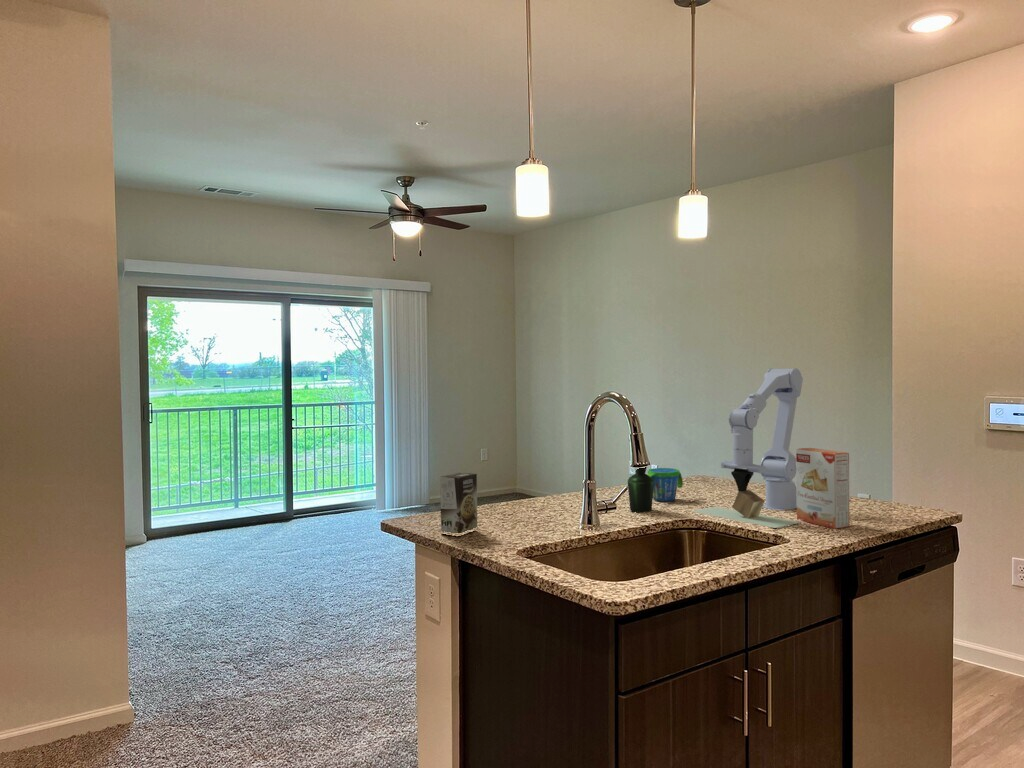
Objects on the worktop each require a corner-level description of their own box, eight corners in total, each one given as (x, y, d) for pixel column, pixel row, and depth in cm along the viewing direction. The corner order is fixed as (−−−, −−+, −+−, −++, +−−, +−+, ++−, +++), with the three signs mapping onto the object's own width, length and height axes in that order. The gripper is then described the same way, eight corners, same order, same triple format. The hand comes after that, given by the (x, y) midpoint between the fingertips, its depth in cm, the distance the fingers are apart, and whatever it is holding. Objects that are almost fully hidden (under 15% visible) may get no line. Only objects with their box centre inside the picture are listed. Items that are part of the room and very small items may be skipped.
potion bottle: (647, 508, 232) (646, 451, 231) (658, 512, 224) (658, 454, 223) (623, 509, 230) (623, 452, 229) (634, 514, 222) (633, 455, 221)
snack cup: (654, 504, 237) (654, 473, 237) (635, 499, 247) (635, 469, 247) (692, 500, 244) (692, 470, 244) (672, 495, 254) (672, 466, 253)
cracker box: (795, 520, 210) (794, 448, 210) (811, 518, 213) (810, 447, 212) (834, 529, 198) (833, 453, 197) (850, 527, 200) (850, 451, 200)
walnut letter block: (749, 489, 217) (764, 500, 212) (742, 505, 219) (758, 516, 214) (738, 491, 214) (754, 502, 210) (732, 507, 216) (747, 518, 212)
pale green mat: (715, 507, 230) (715, 506, 230) (800, 523, 206) (800, 522, 206) (690, 512, 223) (689, 511, 223) (775, 529, 199) (775, 527, 199)
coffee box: (459, 537, 194) (458, 477, 194) (440, 535, 198) (439, 476, 198) (478, 531, 202) (477, 473, 202) (459, 528, 206) (459, 471, 205)
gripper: (714, 447, 219) (714, 492, 219) (755, 452, 207) (754, 499, 208) (729, 446, 223) (729, 490, 223) (770, 450, 211) (770, 497, 212)
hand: (742, 494), depth 216 cm, fingers closed, pressing on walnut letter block
